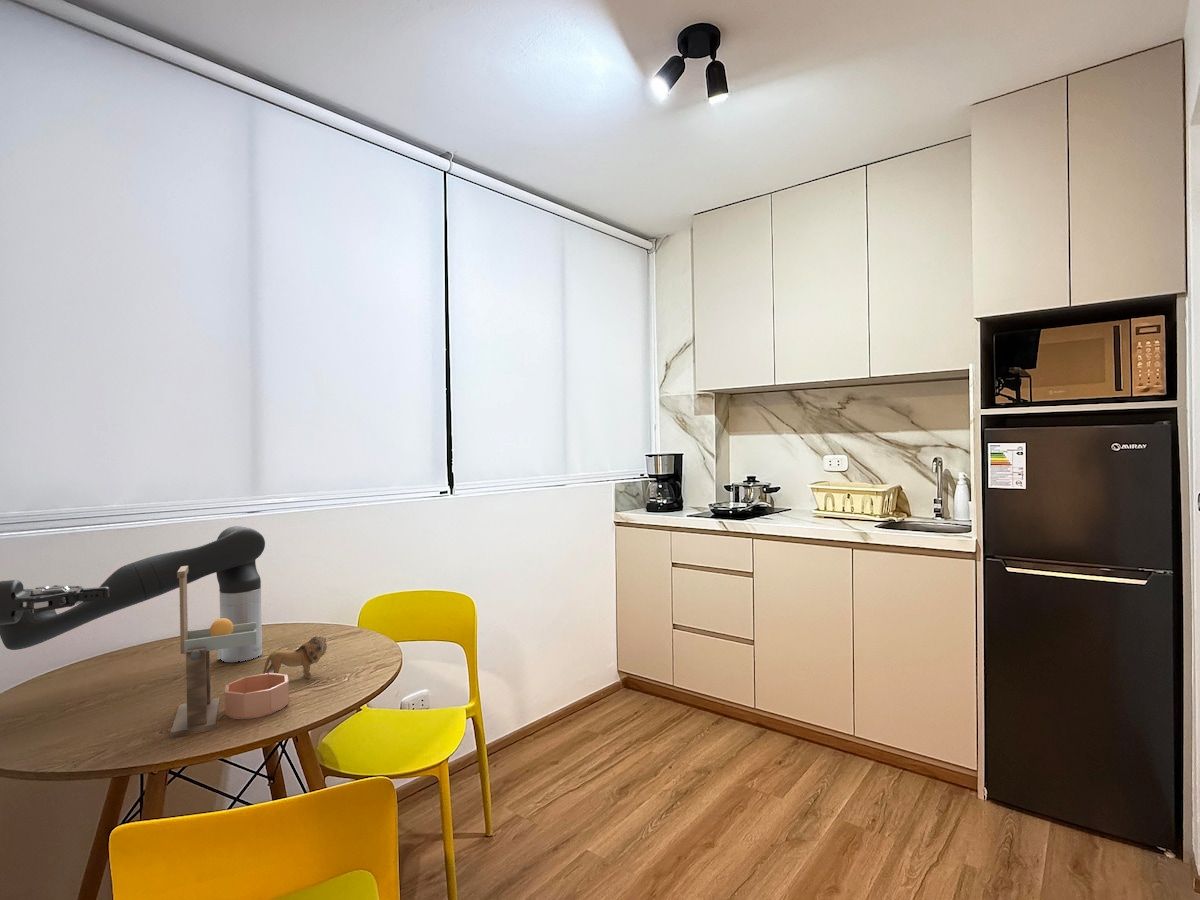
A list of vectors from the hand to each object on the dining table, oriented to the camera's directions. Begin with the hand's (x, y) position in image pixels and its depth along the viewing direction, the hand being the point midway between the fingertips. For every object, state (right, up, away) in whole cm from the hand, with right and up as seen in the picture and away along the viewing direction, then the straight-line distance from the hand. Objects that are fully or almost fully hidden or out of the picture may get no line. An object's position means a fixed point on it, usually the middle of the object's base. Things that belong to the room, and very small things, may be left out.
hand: (108, 593), depth 118 cm
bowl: (+21, -26, +12) cm, 36 cm away
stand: (+13, -26, +7) cm, 30 cm away
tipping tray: (+15, -12, +9) cm, 21 cm away
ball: (+16, -9, +9) cm, 20 cm away
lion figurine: (+21, -26, +29) cm, 44 cm away
